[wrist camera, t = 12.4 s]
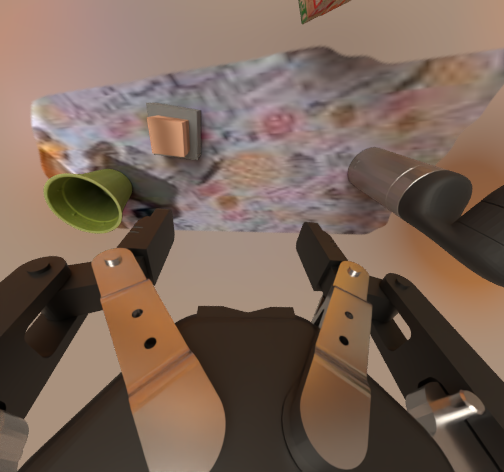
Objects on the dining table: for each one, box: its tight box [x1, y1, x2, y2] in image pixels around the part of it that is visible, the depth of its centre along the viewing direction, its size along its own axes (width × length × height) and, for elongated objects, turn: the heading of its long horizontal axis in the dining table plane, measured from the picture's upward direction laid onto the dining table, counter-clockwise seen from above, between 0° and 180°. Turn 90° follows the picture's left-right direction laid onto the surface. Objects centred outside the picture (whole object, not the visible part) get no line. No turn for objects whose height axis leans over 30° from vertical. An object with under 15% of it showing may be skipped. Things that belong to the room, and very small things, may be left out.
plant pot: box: [44, 169, 132, 234], centre depth 38 cm, size 12×12×11 cm
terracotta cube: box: [147, 115, 190, 157], centre depth 31 cm, size 5×5×5 cm
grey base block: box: [146, 103, 201, 160], centre depth 35 cm, size 8×8×5 cm
